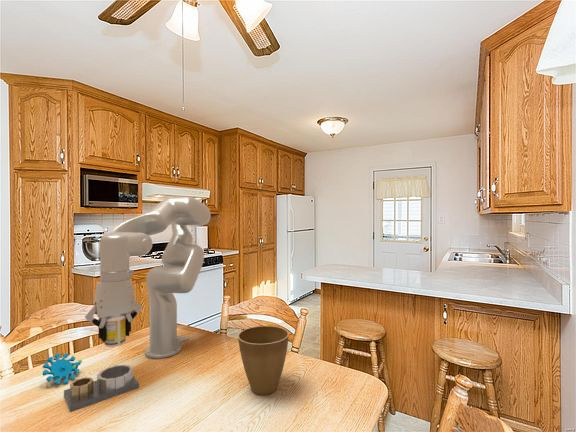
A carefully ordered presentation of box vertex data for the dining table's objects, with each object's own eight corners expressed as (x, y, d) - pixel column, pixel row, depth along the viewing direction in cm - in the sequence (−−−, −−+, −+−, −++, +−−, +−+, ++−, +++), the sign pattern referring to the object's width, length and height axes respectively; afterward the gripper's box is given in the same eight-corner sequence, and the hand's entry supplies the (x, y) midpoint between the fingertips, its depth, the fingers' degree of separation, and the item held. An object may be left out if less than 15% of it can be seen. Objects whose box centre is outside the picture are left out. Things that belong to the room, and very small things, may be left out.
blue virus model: (48, 387, 92) (40, 356, 96) (39, 398, 94) (31, 367, 98) (88, 375, 102) (79, 347, 106) (79, 386, 103) (70, 358, 107)
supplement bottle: (122, 338, 99) (122, 305, 99) (128, 343, 95) (128, 309, 95) (102, 343, 95) (101, 309, 95) (107, 349, 91) (107, 313, 91)
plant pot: (295, 379, 99) (295, 328, 99) (278, 407, 85) (278, 347, 85) (251, 372, 104) (251, 322, 104) (228, 396, 90) (228, 339, 90)
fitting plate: (128, 375, 102) (128, 361, 102) (139, 387, 95) (138, 372, 95) (63, 395, 90) (63, 379, 90) (70, 411, 83) (69, 394, 83)
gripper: (141, 271, 103) (141, 327, 103) (78, 278, 92) (78, 341, 92) (149, 274, 98) (149, 333, 98) (83, 282, 86) (83, 349, 86)
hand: (115, 336), depth 95 cm, fingers closed on supplement bottle, 5 cm apart
